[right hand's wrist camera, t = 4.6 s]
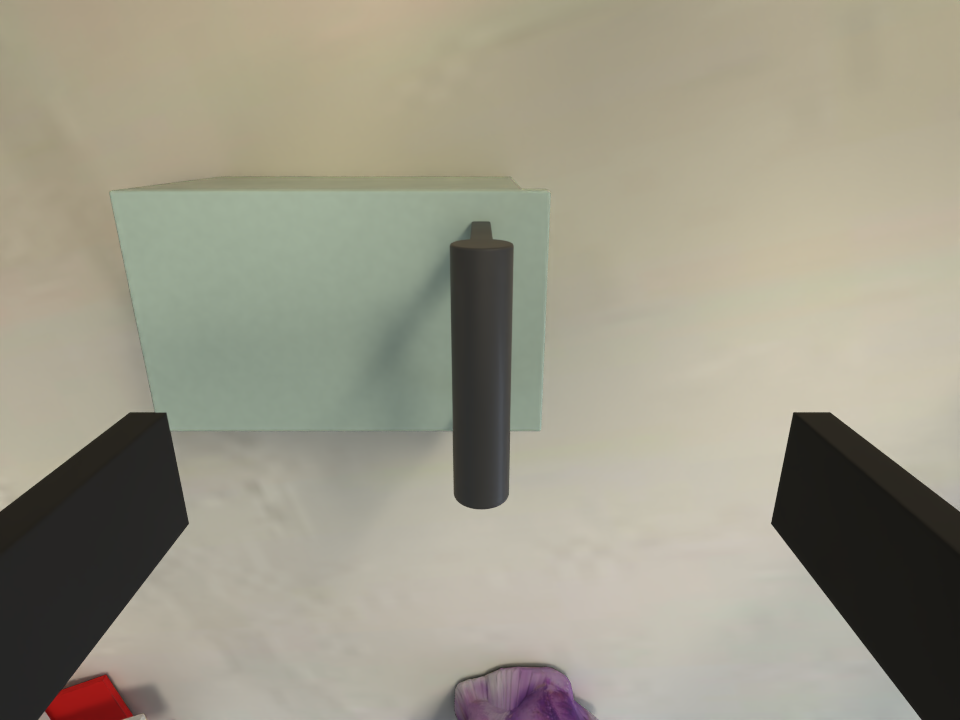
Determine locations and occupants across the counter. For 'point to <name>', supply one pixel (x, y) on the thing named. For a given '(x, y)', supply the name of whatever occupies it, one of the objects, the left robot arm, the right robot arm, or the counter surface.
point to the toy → (89, 703)
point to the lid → (345, 313)
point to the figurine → (518, 696)
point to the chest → (343, 183)
